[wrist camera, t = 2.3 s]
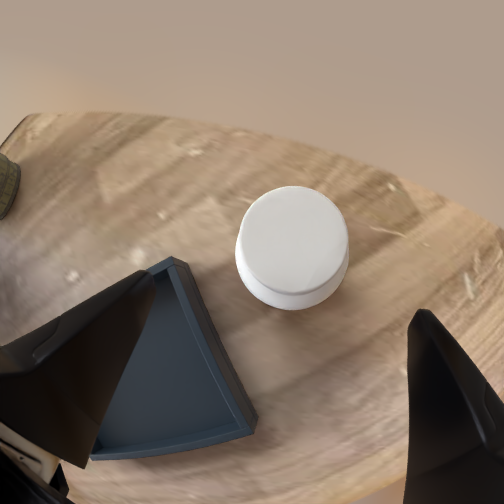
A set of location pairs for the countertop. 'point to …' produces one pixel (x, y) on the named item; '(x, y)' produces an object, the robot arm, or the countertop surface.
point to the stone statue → (8, 183)
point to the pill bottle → (292, 248)
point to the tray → (175, 380)
